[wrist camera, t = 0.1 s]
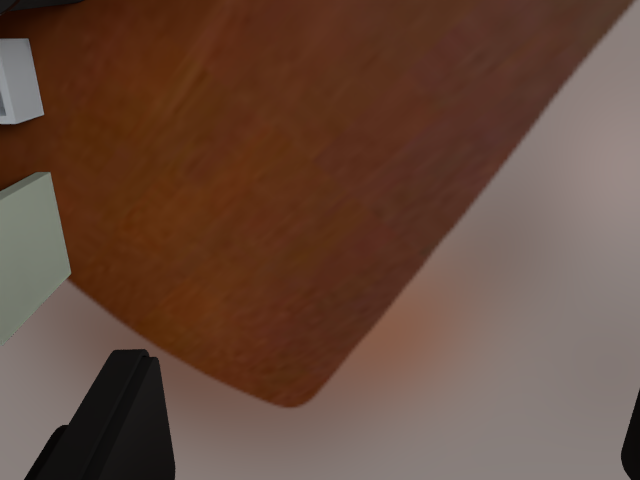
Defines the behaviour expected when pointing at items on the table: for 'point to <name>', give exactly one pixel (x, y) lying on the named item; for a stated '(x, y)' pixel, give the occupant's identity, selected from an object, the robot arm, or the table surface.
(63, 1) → the drinking cup
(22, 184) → the shelf slot
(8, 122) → the tray
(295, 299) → the table surface
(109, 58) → the table surface
